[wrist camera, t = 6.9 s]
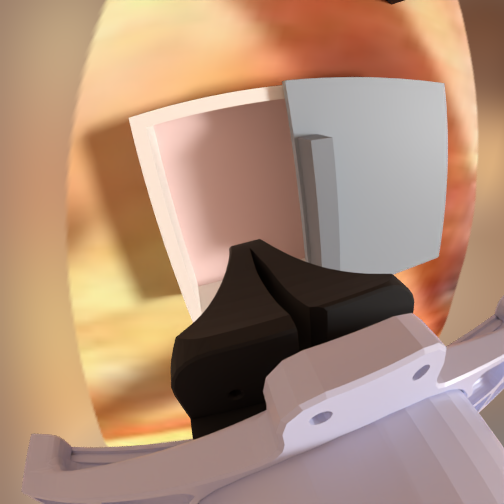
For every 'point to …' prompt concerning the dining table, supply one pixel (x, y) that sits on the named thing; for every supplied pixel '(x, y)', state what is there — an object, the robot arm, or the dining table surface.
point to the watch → (394, 1)
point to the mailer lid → (369, 170)
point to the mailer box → (219, 183)
